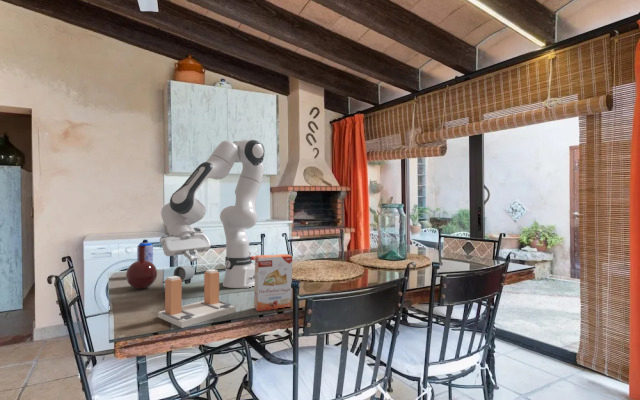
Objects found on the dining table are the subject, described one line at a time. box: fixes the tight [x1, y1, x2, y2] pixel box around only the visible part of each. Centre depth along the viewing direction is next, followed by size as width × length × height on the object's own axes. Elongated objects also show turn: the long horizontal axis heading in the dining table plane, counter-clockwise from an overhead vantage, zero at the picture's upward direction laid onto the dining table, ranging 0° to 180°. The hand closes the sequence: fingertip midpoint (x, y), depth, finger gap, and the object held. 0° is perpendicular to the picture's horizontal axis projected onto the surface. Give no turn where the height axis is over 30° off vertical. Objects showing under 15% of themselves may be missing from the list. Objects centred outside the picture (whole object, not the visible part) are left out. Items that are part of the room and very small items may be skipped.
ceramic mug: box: [173, 264, 196, 282], centre depth 190 cm, size 11×8×8 cm
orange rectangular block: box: [164, 276, 183, 315], centre depth 131 cm, size 4×4×13 cm
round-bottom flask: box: [125, 245, 158, 290], centre depth 172 cm, size 13×13×20 cm
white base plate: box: [157, 300, 236, 329], centre depth 136 cm, size 22×16×3 cm
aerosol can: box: [136, 239, 154, 264], centre depth 195 cm, size 8×8×20 cm
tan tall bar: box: [203, 268, 220, 305], centre depth 144 cm, size 4×4×13 cm
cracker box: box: [253, 253, 293, 312], centre depth 145 cm, size 14×6×21 cm, turn 114°
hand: (194, 260), depth 151 cm, fingers closed
